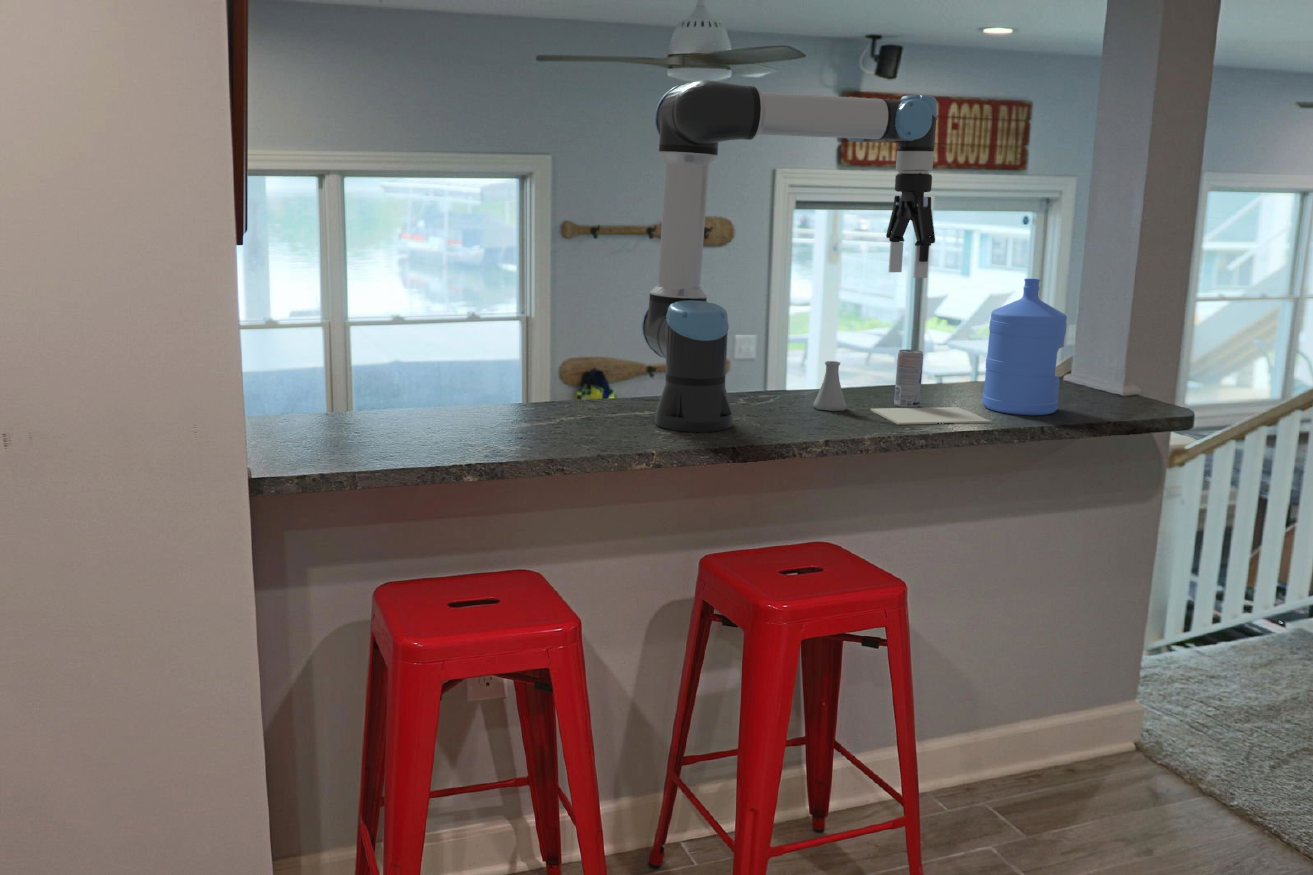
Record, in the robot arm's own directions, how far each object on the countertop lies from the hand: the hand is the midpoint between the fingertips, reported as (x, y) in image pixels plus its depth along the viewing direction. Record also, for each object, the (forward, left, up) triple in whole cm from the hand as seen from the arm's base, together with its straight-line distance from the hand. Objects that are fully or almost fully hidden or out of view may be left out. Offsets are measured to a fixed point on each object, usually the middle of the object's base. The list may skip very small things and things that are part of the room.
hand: (907, 275), depth 236 cm
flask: (-17, -4, -28) cm, 33 cm away
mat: (+1, -14, -28) cm, 31 cm away
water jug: (+25, -8, -28) cm, 38 cm away
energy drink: (+1, -3, -28) cm, 28 cm away
